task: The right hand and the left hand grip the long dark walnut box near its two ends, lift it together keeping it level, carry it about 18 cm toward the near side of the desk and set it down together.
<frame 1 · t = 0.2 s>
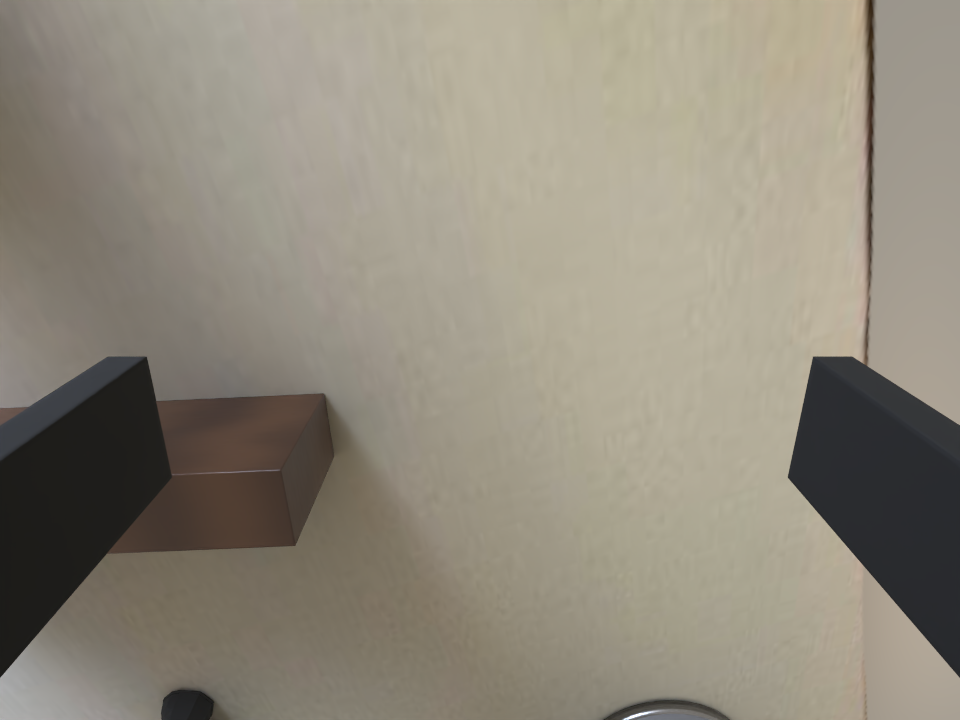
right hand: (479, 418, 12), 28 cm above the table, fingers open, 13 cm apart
walnut box: (90, 436, 44), on the table
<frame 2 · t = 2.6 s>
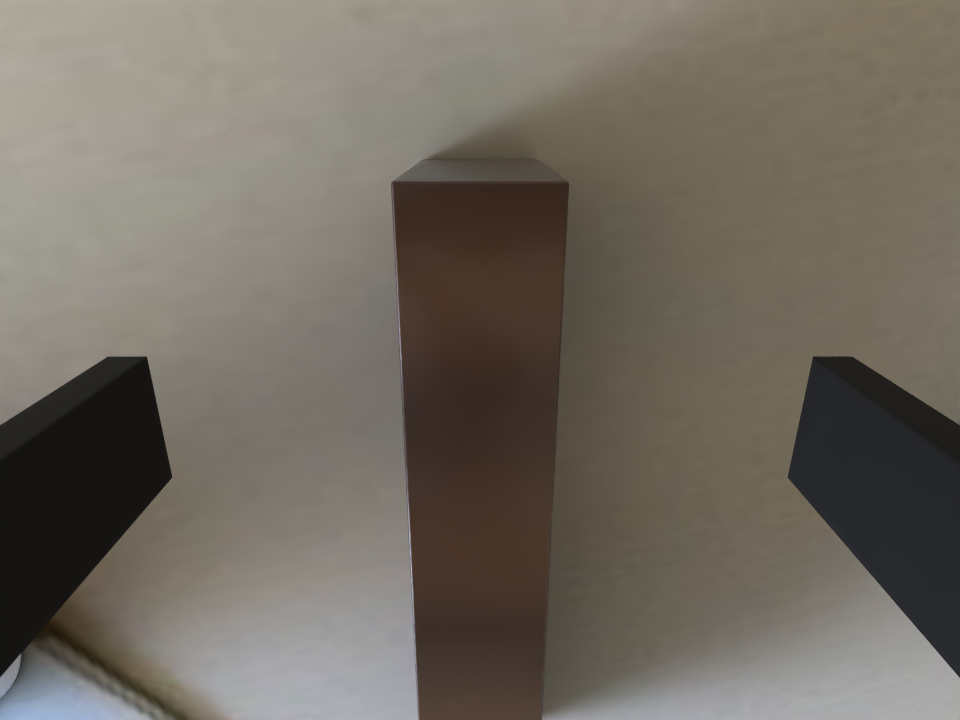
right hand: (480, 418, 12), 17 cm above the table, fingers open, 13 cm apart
walnut box: (480, 496, 33), on the table
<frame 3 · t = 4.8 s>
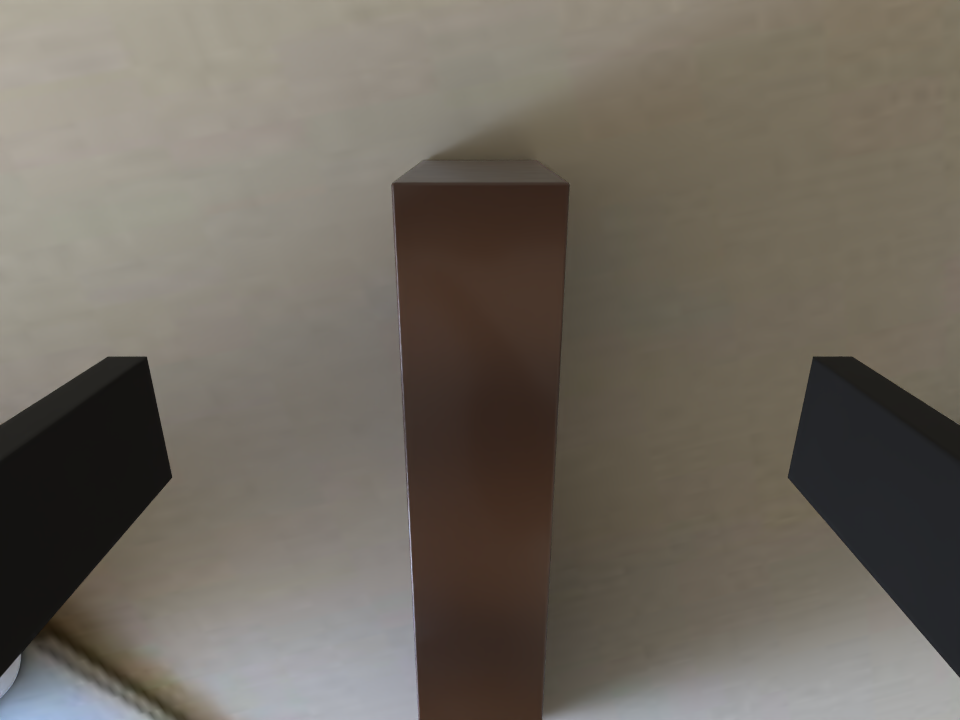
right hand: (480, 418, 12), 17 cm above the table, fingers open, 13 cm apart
walnut box: (480, 496, 33), on the table, touching left hand
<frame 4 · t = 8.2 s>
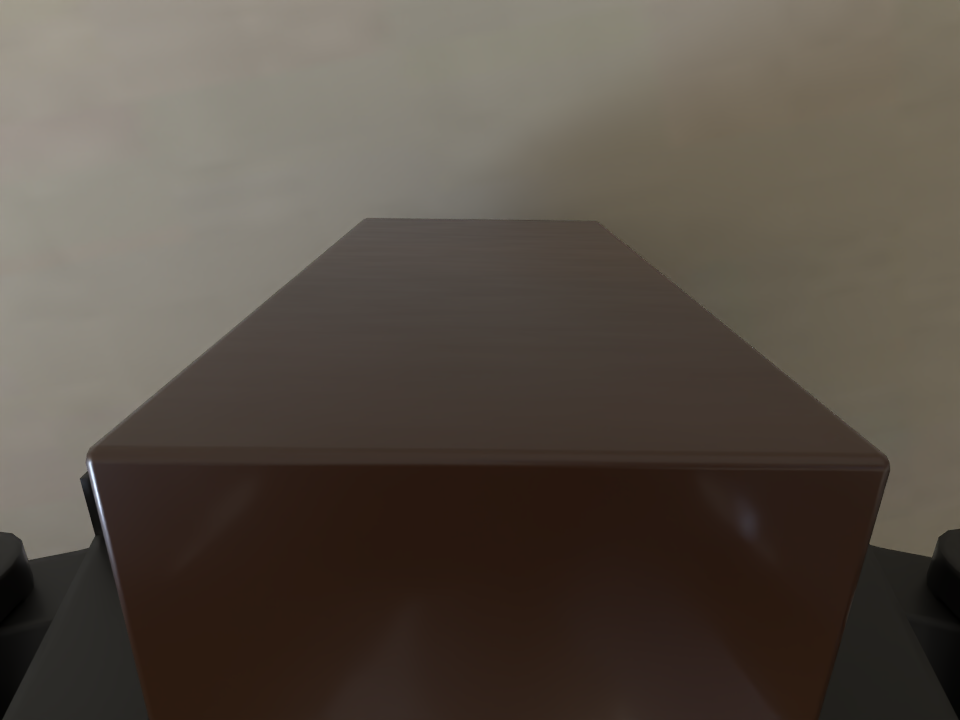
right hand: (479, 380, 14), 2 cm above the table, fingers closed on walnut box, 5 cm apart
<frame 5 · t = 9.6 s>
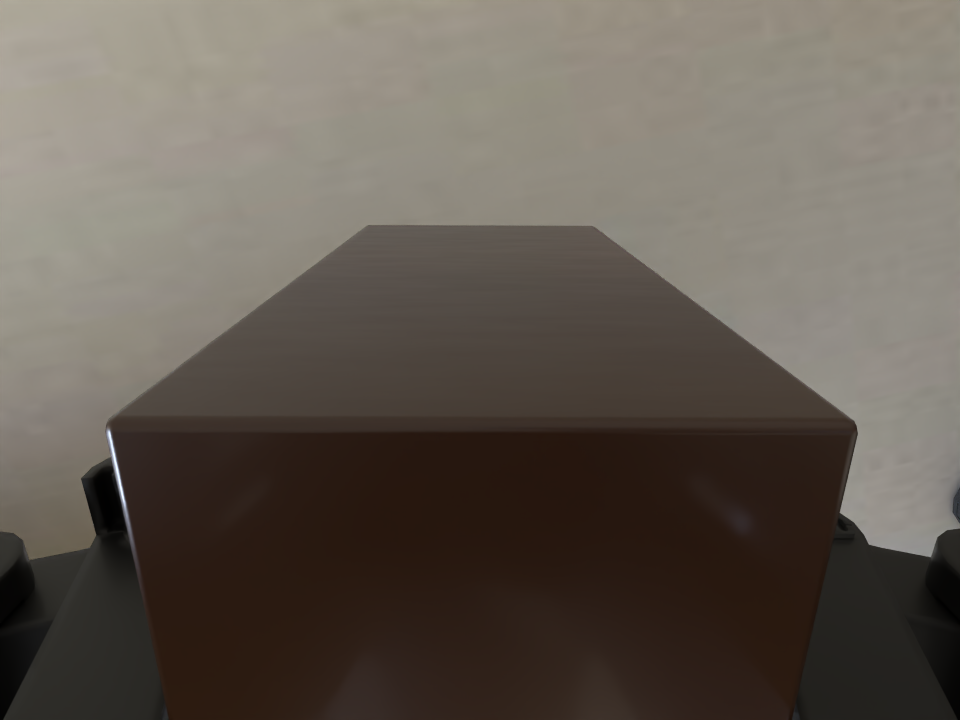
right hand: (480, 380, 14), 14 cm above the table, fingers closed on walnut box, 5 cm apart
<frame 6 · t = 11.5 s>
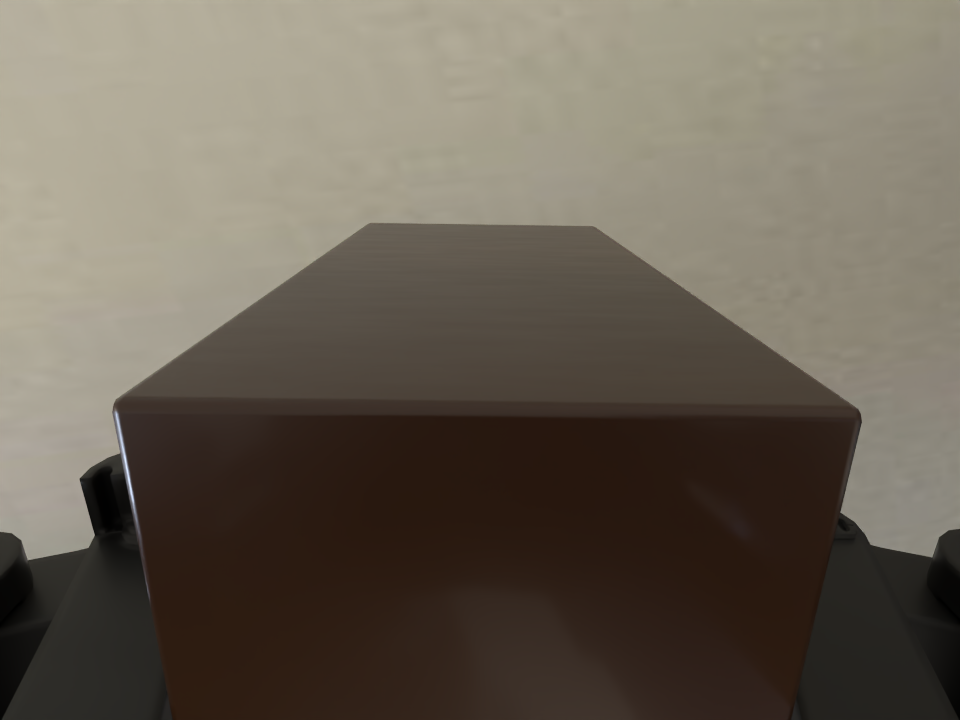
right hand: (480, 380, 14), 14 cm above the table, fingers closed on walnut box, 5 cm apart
when the right hand's fingers open (1 cm above the table, at t = 14.6 s): walnut box stays where it is, on the table.
when the left hand's fingers open (5 cm above the table, at t = 14.7 s): walnut box stays where it is, on the table.
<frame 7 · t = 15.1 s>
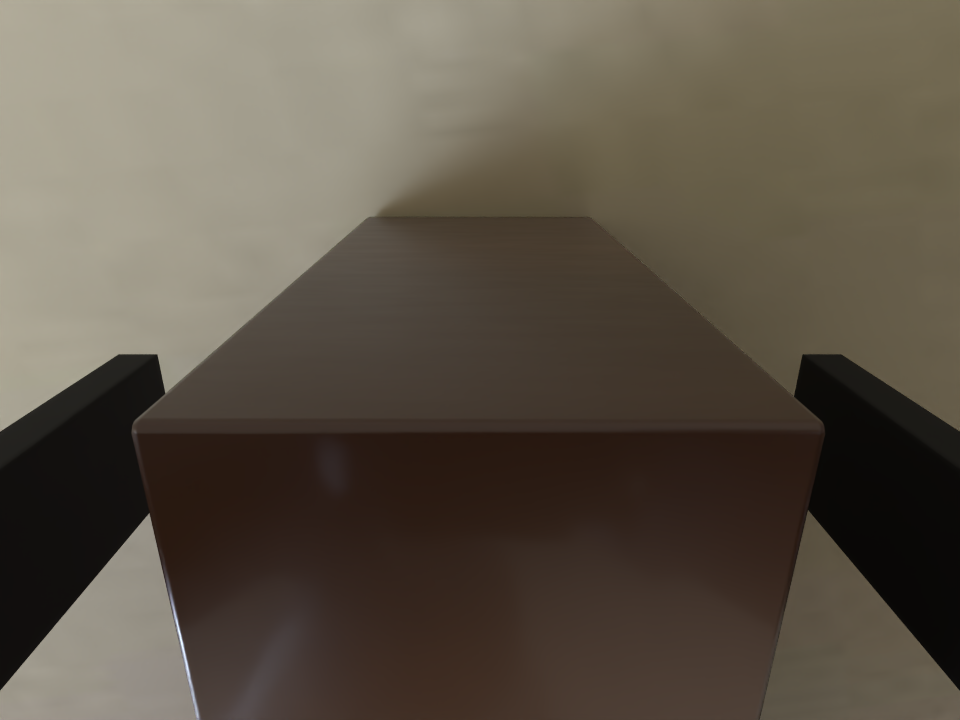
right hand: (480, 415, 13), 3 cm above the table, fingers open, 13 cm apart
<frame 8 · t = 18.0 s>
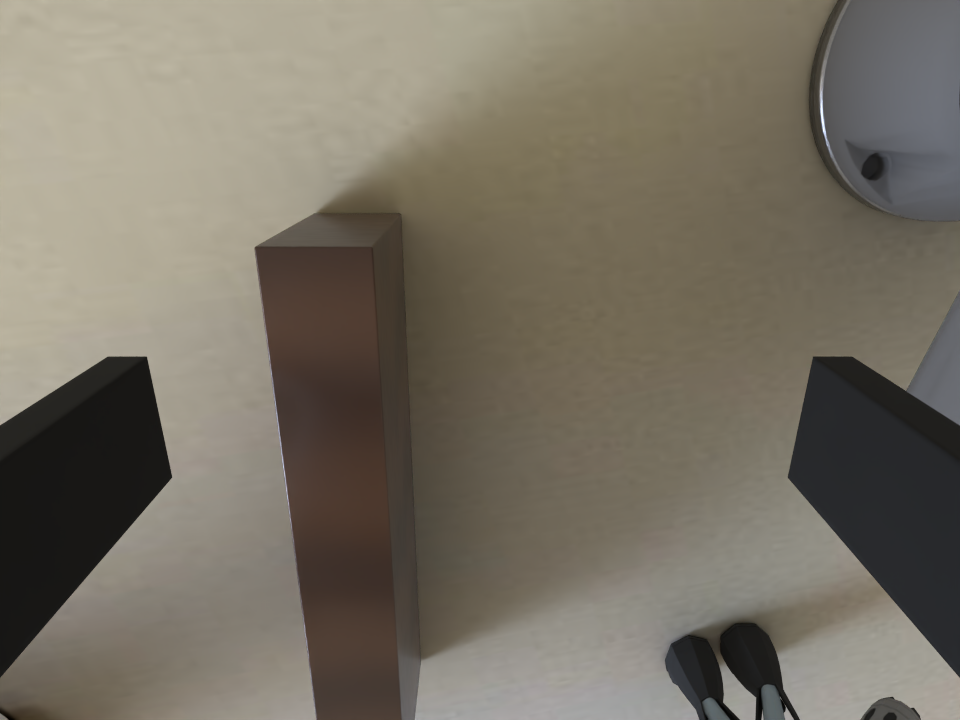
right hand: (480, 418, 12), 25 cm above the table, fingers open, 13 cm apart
robot: (715, 648, 47), on the table
walnut box: (375, 471, 41), on the table
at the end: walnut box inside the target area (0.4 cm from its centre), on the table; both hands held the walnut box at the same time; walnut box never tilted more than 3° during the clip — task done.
